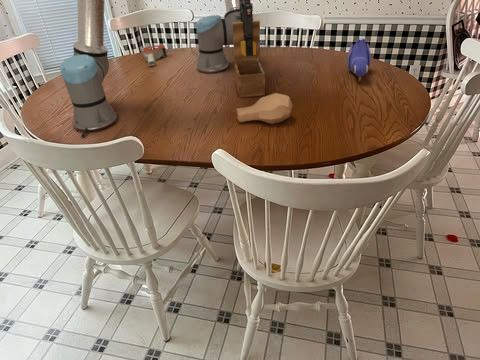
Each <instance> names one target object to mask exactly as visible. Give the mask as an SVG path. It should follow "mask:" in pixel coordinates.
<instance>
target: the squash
mask: <svg viewBox="0 0 480 360" xmlns="http://www.w3.org/2000/svg"><path fill="white" fill-rule="evenodd" d="M292 109H293V102H292V100H291V97H290V96H288V95H286V94H282V93H279V92H278V93H277V92H273V93H271V94H269V95H265V96H261V97H260V98H259V99H257V101H256V102H255V103H254V104H252V105H249V106H246V107H238V108H236V115H237V118H236V119H237V120H238V122H239V123H245V122H249V121H262V122H263V123H267V124H270V125H271V124H272V125H273V124H279V123H280V124H281V123H282V122H284V121H285V120H287V119H289V118H290V117H291V112H292Z"/></svg>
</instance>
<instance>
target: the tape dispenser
mask: <svg viewBox="0 0 480 360" xmlns="http://www.w3.org/2000/svg"><path fill="white" fill-rule="evenodd" d="M140 51H141V53H142V56H143V58H144V60H145V61H146V62H147V66H148V67H153V66H155V65H156V64H157V61H156V60H159V59H161V58H165V57H167V52H166V51H167V50H166V46H165V45H164V44H159V45H151V46H146V47H144V46H143V47H141V48H140Z"/></svg>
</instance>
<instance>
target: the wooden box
mask: <svg viewBox="0 0 480 360" xmlns="http://www.w3.org/2000/svg"><path fill="white" fill-rule="evenodd" d="M233 62H234V61H233ZM233 65H234V81H235V86H236V90H237V91H236V92H237V95H238V98H239V99H240V98H241V99H242V98H251V97H264V96H266V73H265V71H264V68H263V67H262V64H261V62H260V60H249V61H237V62H234V63H233Z"/></svg>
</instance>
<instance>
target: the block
mask: <svg viewBox="0 0 480 360" xmlns="http://www.w3.org/2000/svg"><path fill="white" fill-rule="evenodd" d="M241 53H242V54H243V55H244V56H246V44H245V41H241ZM253 55H256V43H255V42H254V41H253Z"/></svg>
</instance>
